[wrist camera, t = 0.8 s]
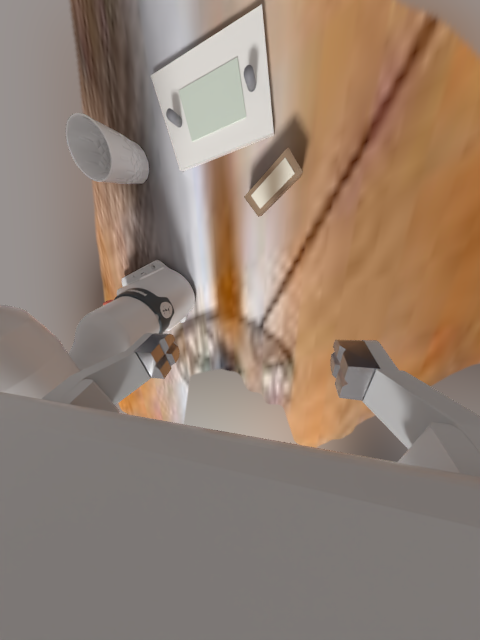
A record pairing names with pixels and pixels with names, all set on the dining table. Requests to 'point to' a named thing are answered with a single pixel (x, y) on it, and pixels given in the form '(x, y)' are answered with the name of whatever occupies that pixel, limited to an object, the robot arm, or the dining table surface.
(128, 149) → the pale white cylinder
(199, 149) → the wall panel
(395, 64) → the dining table surface
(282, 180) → the walnut frame
